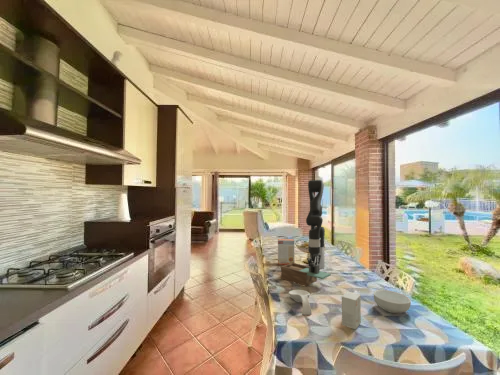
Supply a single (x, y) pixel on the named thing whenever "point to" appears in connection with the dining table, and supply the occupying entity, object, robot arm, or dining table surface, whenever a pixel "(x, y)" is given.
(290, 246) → the cracker box
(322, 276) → the cover plate
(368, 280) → the dining table surface
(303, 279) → the lid box
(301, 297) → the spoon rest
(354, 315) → the small box
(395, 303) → the cereal bowl
